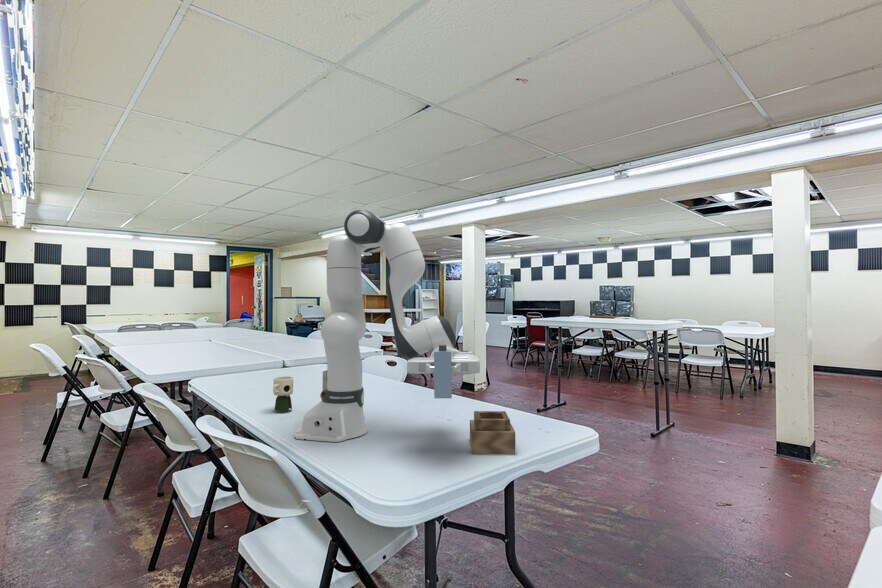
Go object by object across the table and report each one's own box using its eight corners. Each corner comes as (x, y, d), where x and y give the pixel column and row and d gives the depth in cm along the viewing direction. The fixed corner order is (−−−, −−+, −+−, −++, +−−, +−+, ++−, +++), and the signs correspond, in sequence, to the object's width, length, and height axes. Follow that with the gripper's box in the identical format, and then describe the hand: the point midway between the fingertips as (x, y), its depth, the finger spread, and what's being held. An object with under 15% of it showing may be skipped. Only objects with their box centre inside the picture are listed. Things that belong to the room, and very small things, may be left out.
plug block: (434, 398, 106) (433, 346, 107) (435, 394, 111) (434, 344, 111) (451, 398, 106) (451, 346, 106) (451, 394, 111) (451, 344, 111)
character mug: (281, 416, 152) (281, 380, 152) (265, 414, 154) (265, 379, 154) (300, 408, 162) (300, 375, 162) (284, 407, 164) (285, 374, 165)
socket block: (472, 454, 114) (472, 421, 114) (469, 439, 126) (469, 410, 126) (515, 454, 114) (515, 421, 114) (508, 439, 126) (508, 410, 126)
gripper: (408, 351, 122) (403, 358, 108) (477, 351, 121) (481, 357, 108) (408, 373, 122) (403, 382, 108) (478, 372, 121) (481, 382, 107)
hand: (443, 370), depth 108 cm, fingers closed on plug block, 4 cm apart
